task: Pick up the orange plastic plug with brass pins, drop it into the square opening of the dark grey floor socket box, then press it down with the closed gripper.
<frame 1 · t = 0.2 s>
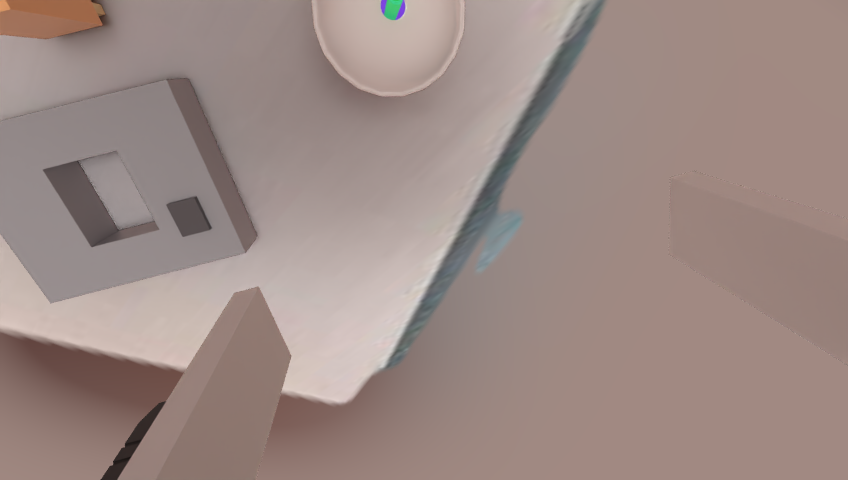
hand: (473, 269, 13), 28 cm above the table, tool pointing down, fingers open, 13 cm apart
smoothie: (384, 36, 35), on the table
socket box: (130, 188, 37), on the table
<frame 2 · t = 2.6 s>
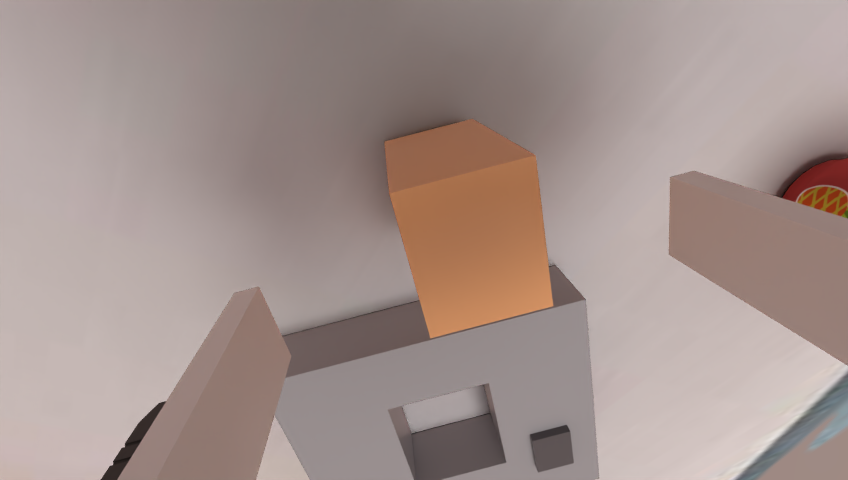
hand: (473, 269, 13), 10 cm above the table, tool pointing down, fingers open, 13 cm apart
smoothie: (813, 202, 25), on the table
plug: (436, 175, 22), on the table
socket box: (441, 389, 28), on the table
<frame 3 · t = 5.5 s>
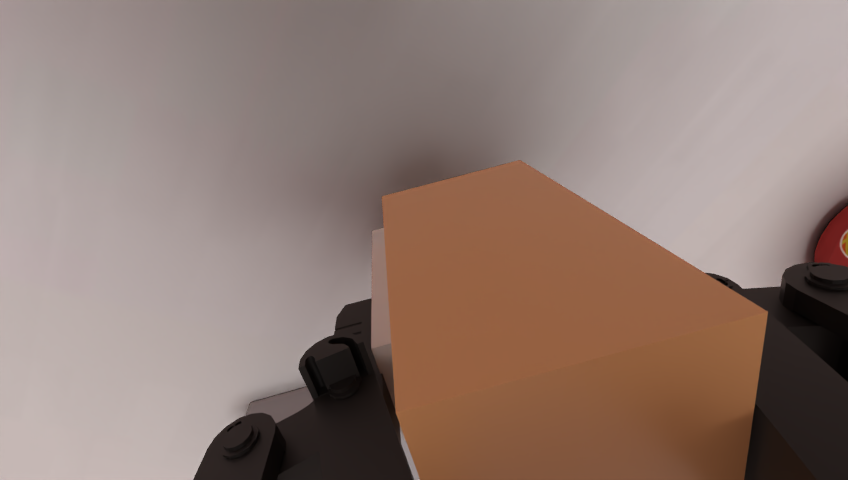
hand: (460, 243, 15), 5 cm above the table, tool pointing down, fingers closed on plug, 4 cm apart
plug: (458, 237, 15), point 4 cm above the table, touching gripper
socket box: (442, 452, 25), on the table
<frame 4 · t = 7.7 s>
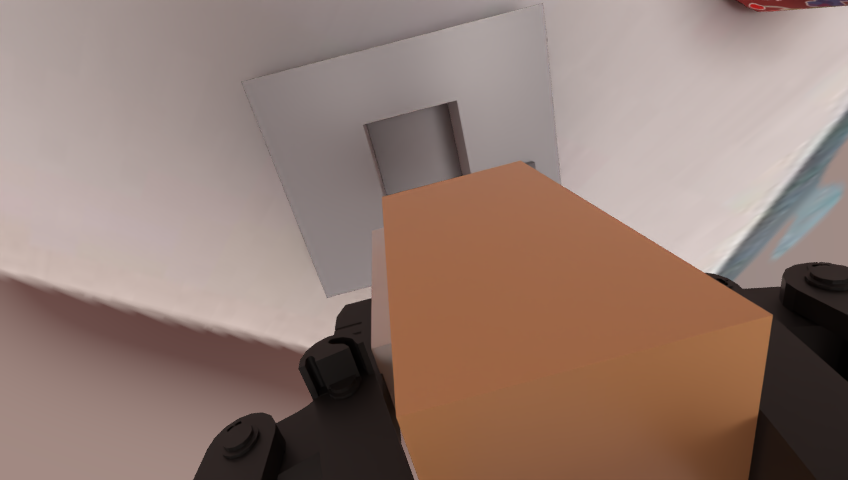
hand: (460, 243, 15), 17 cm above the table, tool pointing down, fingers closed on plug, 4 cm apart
plug: (458, 238, 15), point 16 cm above the table, touching gripper
socket box: (417, 155, 30), on the table
when the fingers open (6 cm above the table, at t = 10.3 s): plug drops 5 cm, resting in socket box.
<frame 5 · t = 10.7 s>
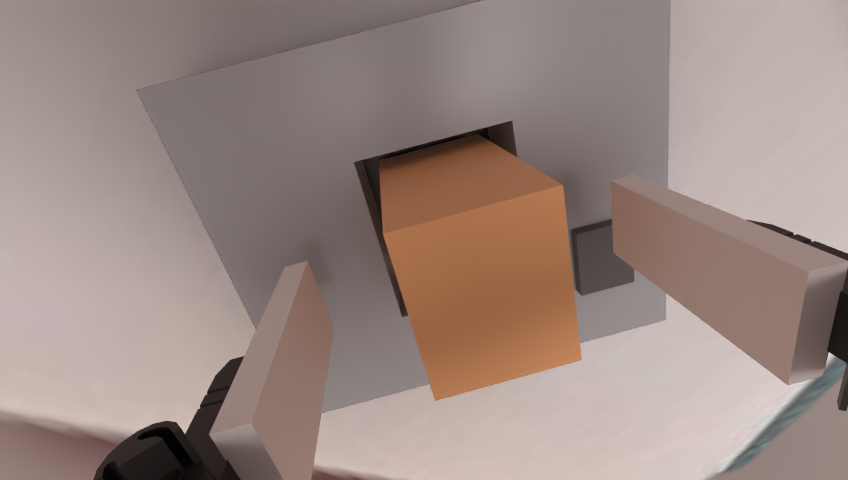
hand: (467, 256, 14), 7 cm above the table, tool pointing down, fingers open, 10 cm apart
plug: (437, 195, 20), resting in socket box
socket box: (437, 198, 20), on the table
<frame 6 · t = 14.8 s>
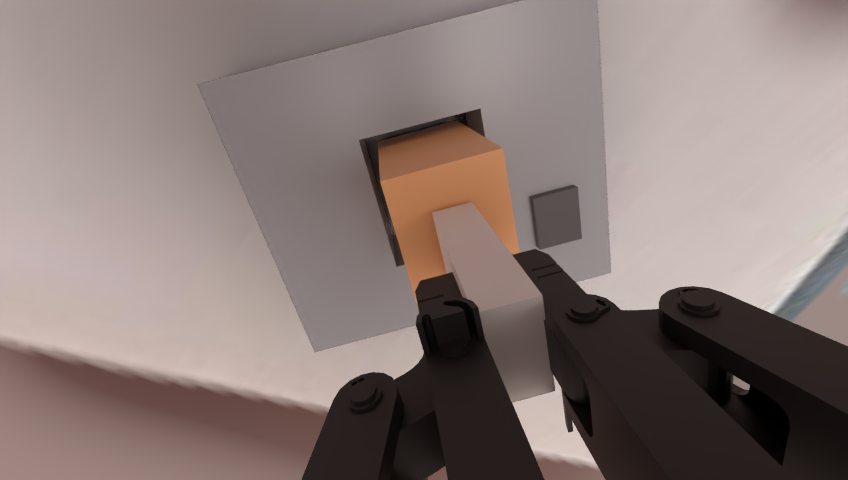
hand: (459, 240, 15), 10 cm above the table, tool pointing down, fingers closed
plug: (425, 172, 24), resting in socket box, touching gripper
socket box: (426, 174, 24), on the table
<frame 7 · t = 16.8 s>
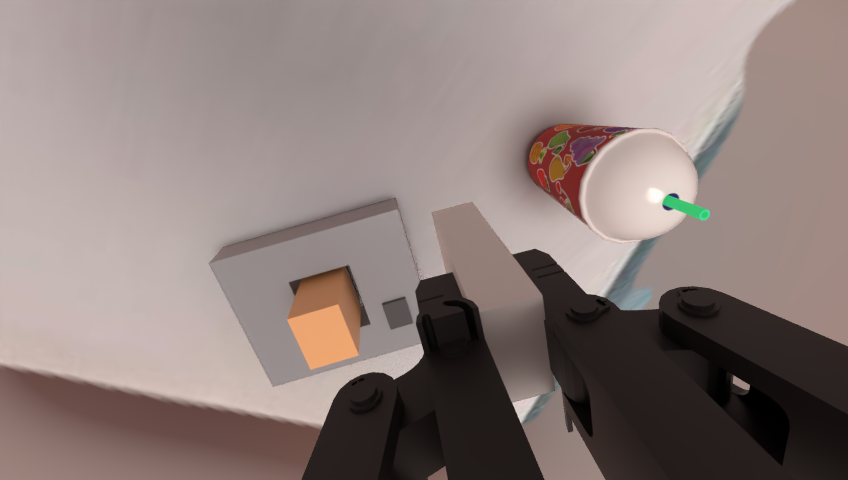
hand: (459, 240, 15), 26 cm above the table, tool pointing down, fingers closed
smoothie: (554, 156, 42), on the table
plug: (334, 284, 43), resting in socket box
socket box: (334, 285, 43), on the table
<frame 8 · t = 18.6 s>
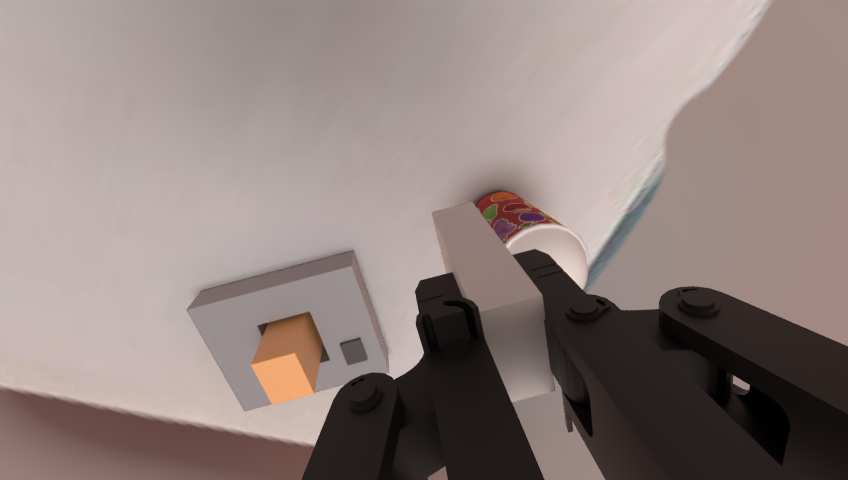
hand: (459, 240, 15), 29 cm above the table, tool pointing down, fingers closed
smoothie: (495, 216, 47), on the table
plug: (300, 322, 49), resting in socket box
socket box: (300, 323, 49), on the table
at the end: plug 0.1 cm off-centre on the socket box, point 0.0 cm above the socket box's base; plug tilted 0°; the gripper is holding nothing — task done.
